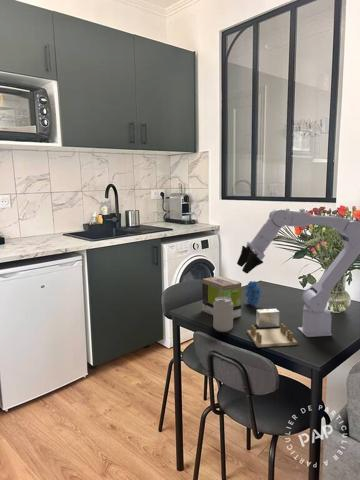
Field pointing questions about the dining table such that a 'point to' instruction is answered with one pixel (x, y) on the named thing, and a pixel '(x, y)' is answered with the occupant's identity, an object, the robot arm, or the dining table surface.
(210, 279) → the tea box
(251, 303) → the grapes
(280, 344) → the tray
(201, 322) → the dining table surface
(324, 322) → the robot arm
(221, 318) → the can
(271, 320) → the block
